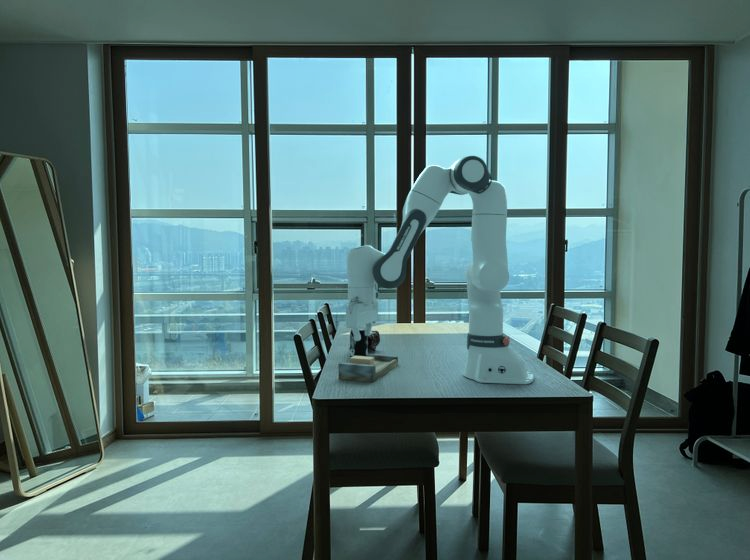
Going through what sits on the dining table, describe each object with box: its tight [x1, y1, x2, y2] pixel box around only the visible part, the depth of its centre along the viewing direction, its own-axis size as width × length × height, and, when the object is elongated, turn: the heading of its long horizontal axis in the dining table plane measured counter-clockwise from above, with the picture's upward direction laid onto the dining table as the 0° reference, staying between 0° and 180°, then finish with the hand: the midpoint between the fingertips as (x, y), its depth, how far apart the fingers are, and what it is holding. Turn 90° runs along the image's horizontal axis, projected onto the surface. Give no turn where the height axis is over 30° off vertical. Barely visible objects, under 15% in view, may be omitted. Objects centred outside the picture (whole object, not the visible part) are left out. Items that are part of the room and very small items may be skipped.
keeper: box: [349, 356, 374, 365], centre depth 171 cm, size 7×4×5 cm, turn 70°
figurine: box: [349, 329, 381, 353], centre depth 208 cm, size 10×10×18 cm
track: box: [338, 353, 399, 383], centre depth 178 cm, size 12×26×5 cm, turn 160°
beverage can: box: [349, 326, 369, 359], centre depth 195 cm, size 7×7×12 cm
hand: (362, 337), depth 169 cm, fingers open, 8 cm apart
